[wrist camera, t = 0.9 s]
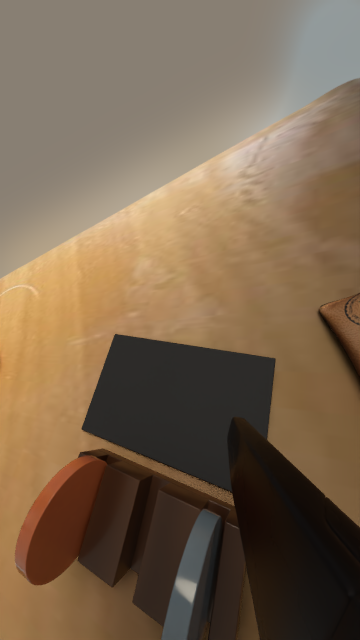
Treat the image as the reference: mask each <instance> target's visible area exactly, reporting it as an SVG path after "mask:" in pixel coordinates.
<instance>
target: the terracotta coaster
mask: <svg viewBox="0 0 360 640" xmlns="http://www.w3.org/2000/svg"><path fill="white" fill-rule="evenodd" d="M106 465H108V464H107V463H106V462H105V461H103V460H101V459H99V458H97V457H94V456H91V455H87V456H82V457H79V458H77V459H75V460H73V461H72V462H70V463H69V464H67V465H66V466H65V467H64V468H62V469H61V470H60V471H59V472H58V473H57V474H56V475H55V476H54V477H53V478H52V479H51V480H50V482H49V483H48V484H47V485H46V486H45V488H44V489H43V490H42V492H41V493H40V494H39V496H38V497H37V499H36V500H35V502H34V504H33V505H32V507H31V509H30V511H29V513H28V515H27V517H26V519H25V521H24V523H23V525H22V528H21V531H20V534H19V537H18V540H17V544H16V550H15V563H16V568H17V570H18V572H19V573H20V574H21V575H23V576H24V577H25V578H26V579H27V580H28V581H29V582H30V583H31V584H33V585H43V584H46V583H49V582H51V581H52V580H54V579H55V578H57V577H58V576H59V575H61V574H62V573H63V572H64V571H65V570H66V569H67V568H68V567H69V566H70V565H71V564H72V563H73V562H74V560H75V559H76V558H77V557H78V556H79V554H80V551H81V547H82V544H83V541H84V537H85V534H86V531H87V528H88V524H89V521H90V518H91V514H92V511H93V508H94V505H95V501H96V498H97V495H98V491H99V488H100V485H101V482H102V478H103V475H104V472H105V468H106Z"/></svg>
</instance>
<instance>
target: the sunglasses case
mask: <svg viewBox="0 0 360 640" xmlns="http://www.w3.org/2000/svg"><path fill="white" fill-rule="evenodd" d="M319 311H320V313H321V315H322V316H323V318H324V319H325V321H326V322H327V324H328V325H329V326H330V328H331V329H332V331H333V332H334V333H335V335H336V336H337V338H338V340H339V341H340V343H341V344H342V346H343V348H344V349H345V351H346V353H347V355H348V356H349V358H350V360H351V362H352V363H353V365H354V367H355V369H356V371H357V373H358V375H359V377H360V293H358V294H356V295H354V296H351V297H347V298H344V299H341V300H337V301H334V302H330V303H327V304H324V305H322V306H321V307H320V308H319Z"/></svg>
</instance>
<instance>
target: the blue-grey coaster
mask: <svg viewBox="0 0 360 640" xmlns="http://www.w3.org/2000/svg"><path fill="white" fill-rule="evenodd" d="M221 541H222V517H221V516H220V515H218V514H216V513H214V512H212V511H210V510H208V509H203V510H202V511H201V512H200V514H199V516H198V517H197V519H196V521H195V523H194V526H193V528H192V530H191V533H190V535H189V538H188V541H187V544H186V546H185V549H184V552H183V555H182V559H181V562H180V565H179V568H178V572H177V575H176V579H175V582H174V586H173V590H172V593H171V597H170V601H169V605H168V609H167V614H166V618H165V623H164V627H163V632H162V637H161V640H204V639H205V634H206V630H207V625H208V620H209V615H210V610H211V605H212V600H213V594H214V589H215V583H216V577H217V571H218V564H219V557H220V550H221Z"/></svg>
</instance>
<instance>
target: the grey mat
mask: <svg viewBox="0 0 360 640" xmlns="http://www.w3.org/2000/svg"><path fill="white" fill-rule="evenodd" d="M274 367H275V358H269V357H262V356H256V355H249V354H242V353H236V352H229V351H223V350H216V349H210V348H203V347H197V346H190V345H184V344H177V343H170V342H164V341H157V340H151V339H144V338H138V337H131V336H125V335H118V334H115V335H114V338H113V341H112V344H111V347H110V350H109V352H108V355H107V358H106V361H105V364H104V367H103V369H102V372H101V375H100V378H99V381H98V384H97V386H96V389H95V392H94V395H93V398H92V401H91V403H90V406H89V409H88V412H87V415H86V418H85V421H84V423H83V426H82V430H84V431H87V432H89V433H91V434H94V435H96V436H99V437H101V438H103V439H106V440H108V441H111V442H113V443H116V444H118V445H120V446H123V447H125V448H128V449H130V450H132V451H135V452H137V453H140V454H142V455H144V456H147V457H149V458H152V459H154V460H157V461H159V462H161V463H164V464H166V465H169V466H171V467H173V468H176V469H178V470H181V471H183V472H185V473H188V474H190V475H193V476H195V477H197V478H200V479H202V480H205V481H207V482H210V483H212V484H214V485H217V486H219V487H222V488H224V489H226V490H229V491H231V492H232V488H231V480H230V468H229V457H228V445H227V437H228V432H229V428H230V424H231V420H232V418H233V417H240V418H244V419H245V420H246V421H247V422H248V423H250V424H251V425H252V426H253V427H254V428H255V429H256V430H257V431H258V432H259V433H260V434H261V435H262V436H263V437H264V438H265V439H266V440H267V433H268V424H269V414H270V405H271V396H272V386H273V377H274Z"/></svg>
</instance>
